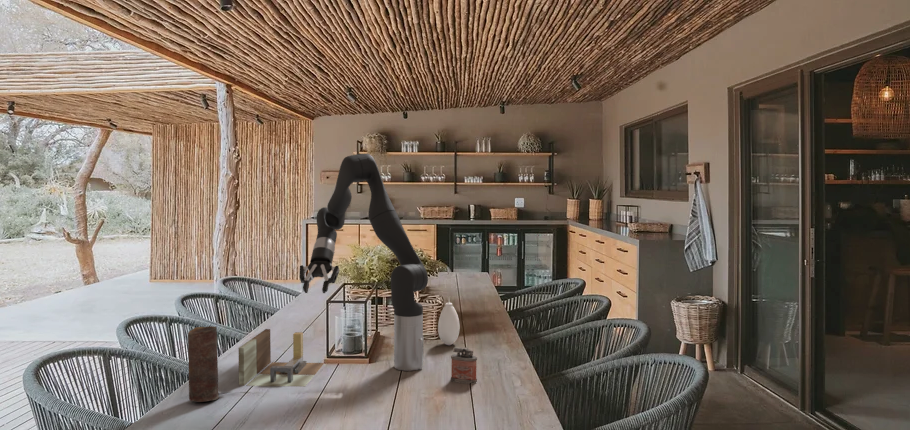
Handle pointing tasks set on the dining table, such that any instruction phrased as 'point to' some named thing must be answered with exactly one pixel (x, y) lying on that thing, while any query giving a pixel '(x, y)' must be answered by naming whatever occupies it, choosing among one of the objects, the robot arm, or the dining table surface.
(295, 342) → the bolt
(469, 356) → the lighter
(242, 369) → the door mockup
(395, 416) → the dining table surface
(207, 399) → the candle
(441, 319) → the white ceramic vase
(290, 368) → the rails
